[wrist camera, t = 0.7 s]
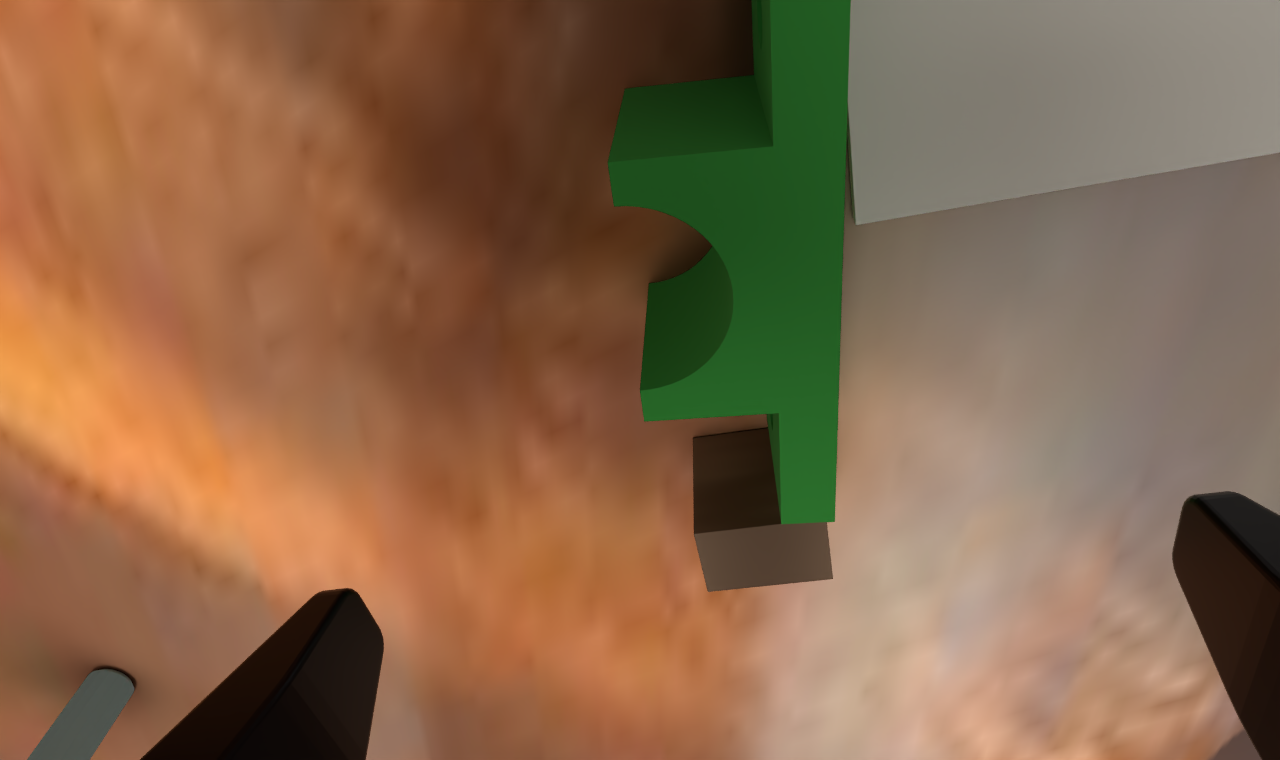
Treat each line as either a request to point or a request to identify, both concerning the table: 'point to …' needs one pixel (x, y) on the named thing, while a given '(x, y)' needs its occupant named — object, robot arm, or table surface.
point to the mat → (1050, 95)
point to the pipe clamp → (752, 241)
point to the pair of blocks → (749, 518)
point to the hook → (86, 717)
